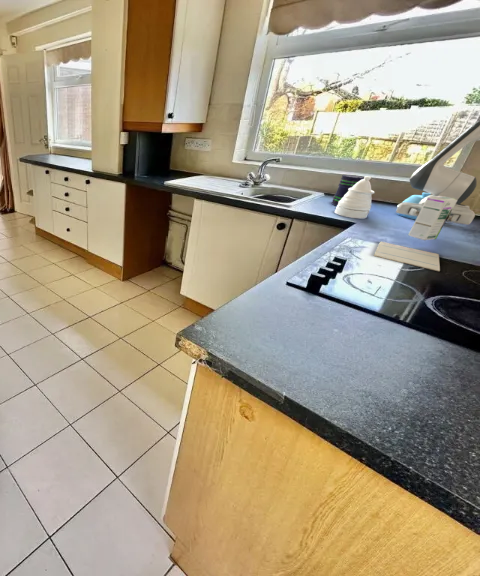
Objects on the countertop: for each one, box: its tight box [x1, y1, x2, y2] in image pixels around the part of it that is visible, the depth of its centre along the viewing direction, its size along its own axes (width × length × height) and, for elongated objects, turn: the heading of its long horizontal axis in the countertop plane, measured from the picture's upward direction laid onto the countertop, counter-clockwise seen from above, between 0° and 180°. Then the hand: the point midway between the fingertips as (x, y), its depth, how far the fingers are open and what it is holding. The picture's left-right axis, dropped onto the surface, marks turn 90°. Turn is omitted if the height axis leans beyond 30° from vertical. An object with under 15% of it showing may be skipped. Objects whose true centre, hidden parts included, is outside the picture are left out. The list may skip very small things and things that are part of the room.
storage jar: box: [331, 174, 365, 206], centre depth 169 cm, size 10×10×15 cm
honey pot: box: [334, 175, 376, 220], centre depth 149 cm, size 13×13×18 cm
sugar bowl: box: [397, 191, 432, 220], centre depth 153 cm, size 15×15×12 cm
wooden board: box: [373, 241, 441, 272], centre depth 107 cm, size 16×20×1 cm
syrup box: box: [407, 196, 457, 241], centre depth 112 cm, size 6×6×14 cm
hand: (433, 216), depth 111 cm, fingers closed on syrup box, 7 cm apart
